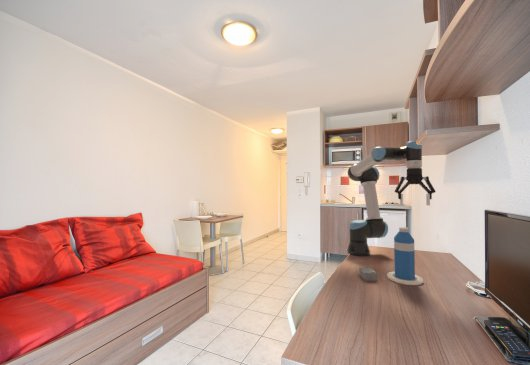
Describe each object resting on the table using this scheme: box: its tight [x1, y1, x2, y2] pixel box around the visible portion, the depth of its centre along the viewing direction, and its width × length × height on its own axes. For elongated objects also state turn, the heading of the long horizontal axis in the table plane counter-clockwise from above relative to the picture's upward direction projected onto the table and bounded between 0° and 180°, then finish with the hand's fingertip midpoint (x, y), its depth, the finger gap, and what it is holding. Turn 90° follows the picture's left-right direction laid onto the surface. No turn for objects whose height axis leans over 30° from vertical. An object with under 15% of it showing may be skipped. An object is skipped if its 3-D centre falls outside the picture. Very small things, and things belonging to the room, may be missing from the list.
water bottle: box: [393, 226, 416, 280], centre depth 123 cm, size 9×9×25 cm
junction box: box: [358, 266, 378, 282], centre depth 125 cm, size 8×6×4 cm
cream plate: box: [386, 270, 424, 286], centre depth 123 cm, size 16×16×1 cm
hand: (414, 205), depth 138 cm, fingers open, 13 cm apart
